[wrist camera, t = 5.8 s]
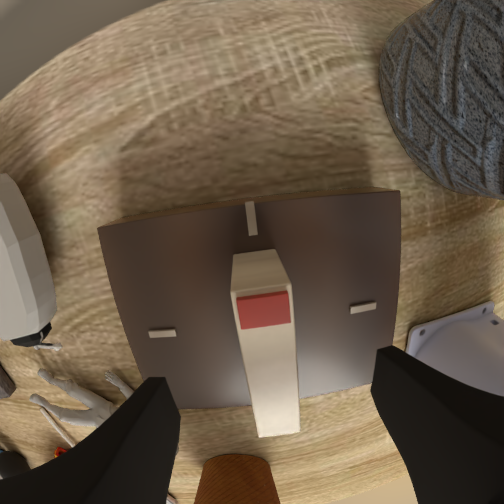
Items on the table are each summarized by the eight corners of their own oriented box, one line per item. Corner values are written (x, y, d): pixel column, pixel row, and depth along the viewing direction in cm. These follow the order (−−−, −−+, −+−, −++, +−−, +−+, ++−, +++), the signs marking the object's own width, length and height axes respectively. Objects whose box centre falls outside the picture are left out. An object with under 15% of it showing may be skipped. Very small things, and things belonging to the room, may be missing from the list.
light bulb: (16, 485, 20) (-12, 475, 14) (17, 455, 25) (-10, 440, 19) (45, 496, 22) (20, 490, 16) (46, 465, 27) (22, 453, 21)
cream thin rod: (33, 412, 18) (39, 413, 17) (42, 403, 19) (48, 403, 19) (94, 476, 20) (102, 479, 19) (101, 467, 21) (109, 469, 21)
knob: (288, 376, 14) (302, 436, 10) (254, 381, 14) (258, 442, 10) (275, 248, 12) (293, 286, 8) (232, 254, 12) (229, 294, 8)
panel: (373, 185, 14) (402, 188, 11) (369, 354, 17) (387, 381, 14) (120, 215, 14) (94, 226, 11) (165, 380, 17) (156, 412, 14)
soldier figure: (49, 335, 17) (175, 401, 15) (83, 352, 21) (198, 405, 19) (22, 416, 13) (141, 503, 11) (59, 422, 18) (169, 489, 15)
